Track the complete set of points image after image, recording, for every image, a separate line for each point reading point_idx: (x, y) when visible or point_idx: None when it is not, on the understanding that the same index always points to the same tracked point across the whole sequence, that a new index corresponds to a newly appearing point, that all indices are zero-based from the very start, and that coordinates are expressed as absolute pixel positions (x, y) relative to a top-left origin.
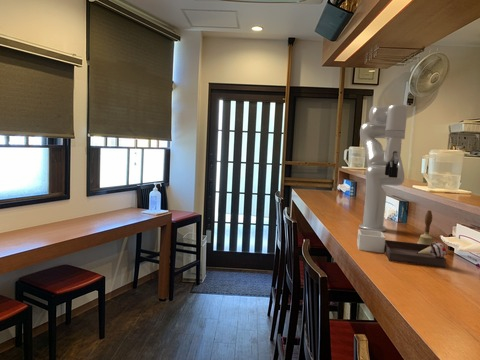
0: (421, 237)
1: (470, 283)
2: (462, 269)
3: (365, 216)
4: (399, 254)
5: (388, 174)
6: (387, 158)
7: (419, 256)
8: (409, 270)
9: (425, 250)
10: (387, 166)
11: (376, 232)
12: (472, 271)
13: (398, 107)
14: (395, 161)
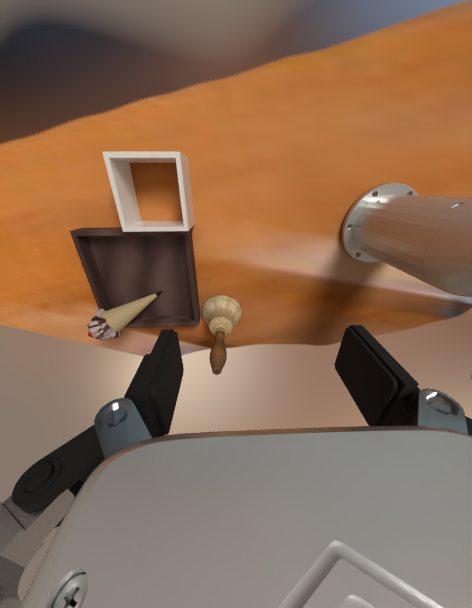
0: (215, 317)
1: (58, 333)
2: (124, 339)
3: (398, 201)
4: (78, 251)
5: (342, 347)
6: (76, 518)
7: (91, 288)
8: (48, 258)
9: (124, 305)
10: (389, 392)
11: (182, 214)
12: (124, 349)
13: None
14: (5, 512)
